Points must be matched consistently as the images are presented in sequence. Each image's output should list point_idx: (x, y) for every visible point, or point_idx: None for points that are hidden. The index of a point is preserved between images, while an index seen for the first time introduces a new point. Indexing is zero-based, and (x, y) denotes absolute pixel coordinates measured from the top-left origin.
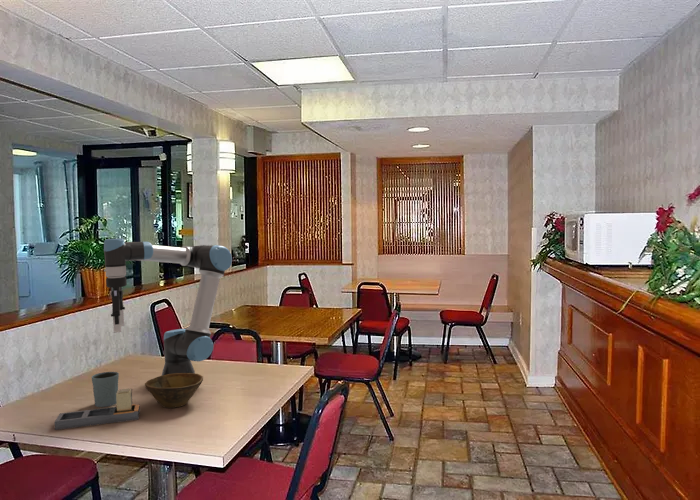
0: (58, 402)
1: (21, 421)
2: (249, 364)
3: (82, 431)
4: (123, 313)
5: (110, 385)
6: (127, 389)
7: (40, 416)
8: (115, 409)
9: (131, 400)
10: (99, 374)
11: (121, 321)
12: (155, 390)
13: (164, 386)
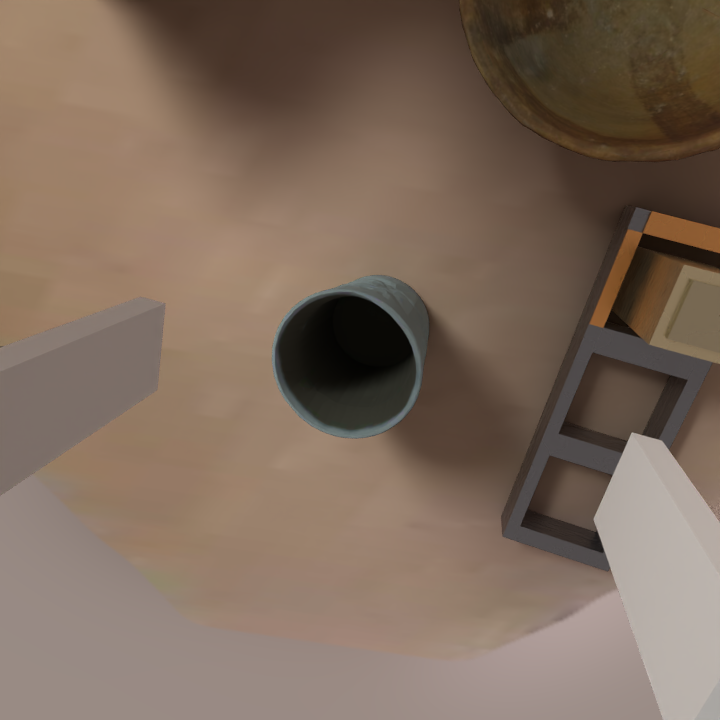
0: (241, 482)
1: (404, 614)
2: None
3: (708, 473)
4: (5, 351)
5: (423, 338)
6: (709, 296)
7: (386, 559)
8: (624, 332)
9: (707, 267)
10: (285, 384)
11: (124, 353)
12: None
13: (518, 12)
